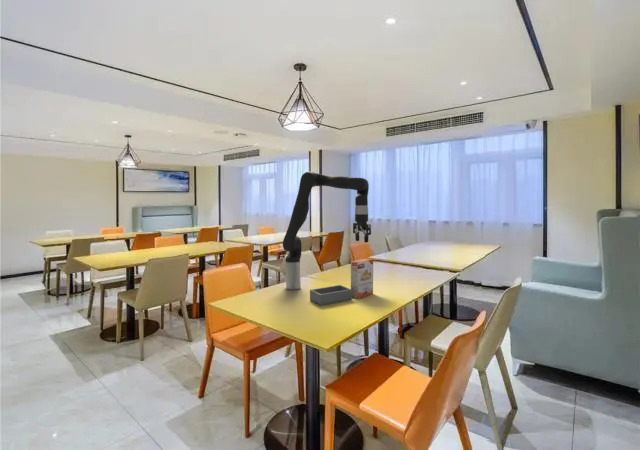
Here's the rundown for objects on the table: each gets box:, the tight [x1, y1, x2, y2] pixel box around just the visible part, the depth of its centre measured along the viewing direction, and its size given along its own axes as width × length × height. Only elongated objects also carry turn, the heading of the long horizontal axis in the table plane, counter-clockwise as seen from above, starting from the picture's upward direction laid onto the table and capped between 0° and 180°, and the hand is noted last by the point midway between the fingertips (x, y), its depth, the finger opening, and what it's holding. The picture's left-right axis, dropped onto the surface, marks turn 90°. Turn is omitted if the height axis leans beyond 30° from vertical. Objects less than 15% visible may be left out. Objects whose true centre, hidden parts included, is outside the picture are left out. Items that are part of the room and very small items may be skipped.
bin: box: [309, 284, 353, 307], centre depth 187 cm, size 12×20×6 cm, turn 119°
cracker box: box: [350, 258, 374, 299], centre depth 194 cm, size 14×6×21 cm, turn 133°
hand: (361, 241), depth 193 cm, fingers open, 8 cm apart
